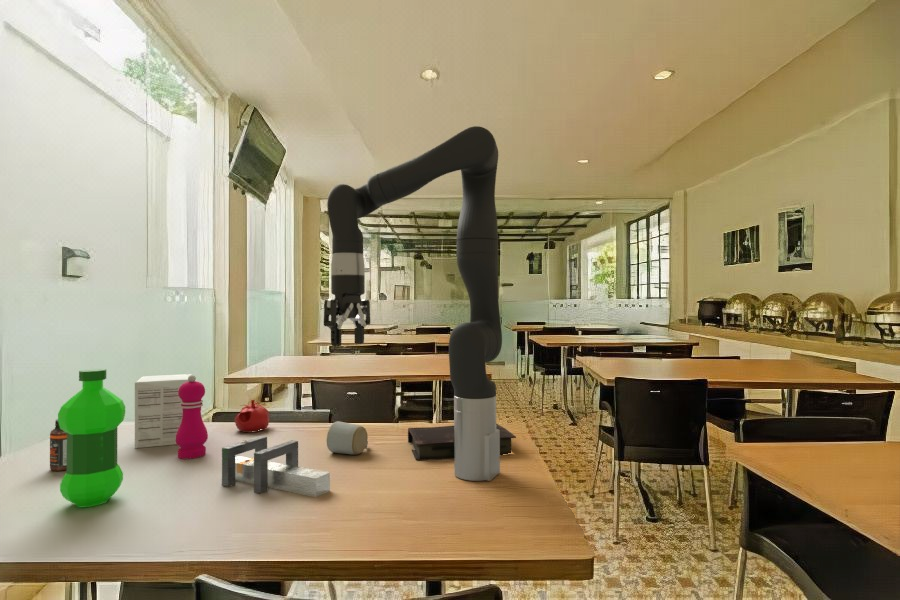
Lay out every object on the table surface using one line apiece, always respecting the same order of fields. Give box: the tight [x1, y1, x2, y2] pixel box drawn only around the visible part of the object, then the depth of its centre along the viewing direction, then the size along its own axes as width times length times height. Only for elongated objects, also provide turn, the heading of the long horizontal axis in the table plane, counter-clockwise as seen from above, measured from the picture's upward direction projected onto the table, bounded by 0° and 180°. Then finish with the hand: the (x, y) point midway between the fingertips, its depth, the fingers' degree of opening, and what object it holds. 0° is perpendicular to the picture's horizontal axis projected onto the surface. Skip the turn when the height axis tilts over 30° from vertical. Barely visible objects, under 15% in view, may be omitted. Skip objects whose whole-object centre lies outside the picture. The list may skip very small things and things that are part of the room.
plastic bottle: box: [57, 368, 126, 508], centre depth 98 cm, size 10×10×25 cm
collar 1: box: [221, 435, 268, 488], centre depth 110 cm, size 2×11×8 cm, turn 154°
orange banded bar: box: [235, 455, 331, 498], centre depth 107 cm, size 26×4×4 cm, turn 63°
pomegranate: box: [234, 398, 270, 433], centre depth 155 cm, size 10×10×9 cm
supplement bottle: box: [49, 418, 67, 472], centre depth 119 cm, size 6×6×11 cm
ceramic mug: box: [326, 420, 369, 456], centre depth 131 cm, size 11×8×8 cm
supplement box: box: [134, 373, 194, 449], centre depth 143 cm, size 13×13×18 cm
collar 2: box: [253, 439, 299, 494], centre depth 107 cm, size 2×11×8 cm, turn 154°
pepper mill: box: [175, 374, 209, 460], centre depth 128 cm, size 7×7×20 cm
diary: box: [407, 422, 517, 461], centre depth 133 cm, size 19×25×5 cm
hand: (348, 344), depth 117 cm, fingers open, 8 cm apart
